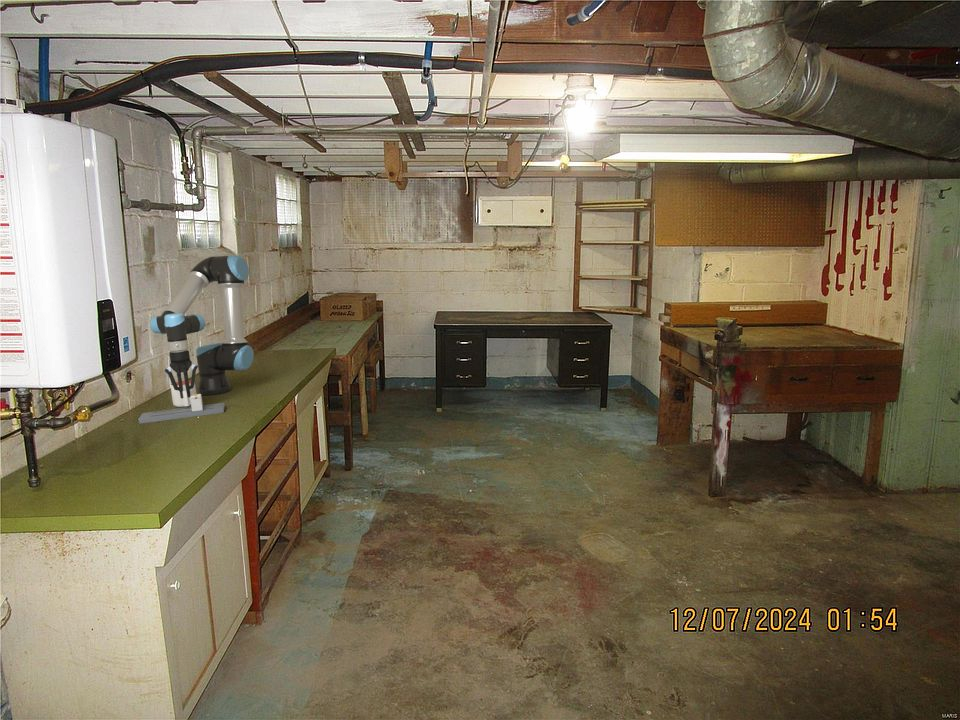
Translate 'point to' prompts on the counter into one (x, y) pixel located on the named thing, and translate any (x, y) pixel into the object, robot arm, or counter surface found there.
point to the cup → (176, 395)
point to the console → (180, 413)
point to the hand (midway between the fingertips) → (186, 405)
